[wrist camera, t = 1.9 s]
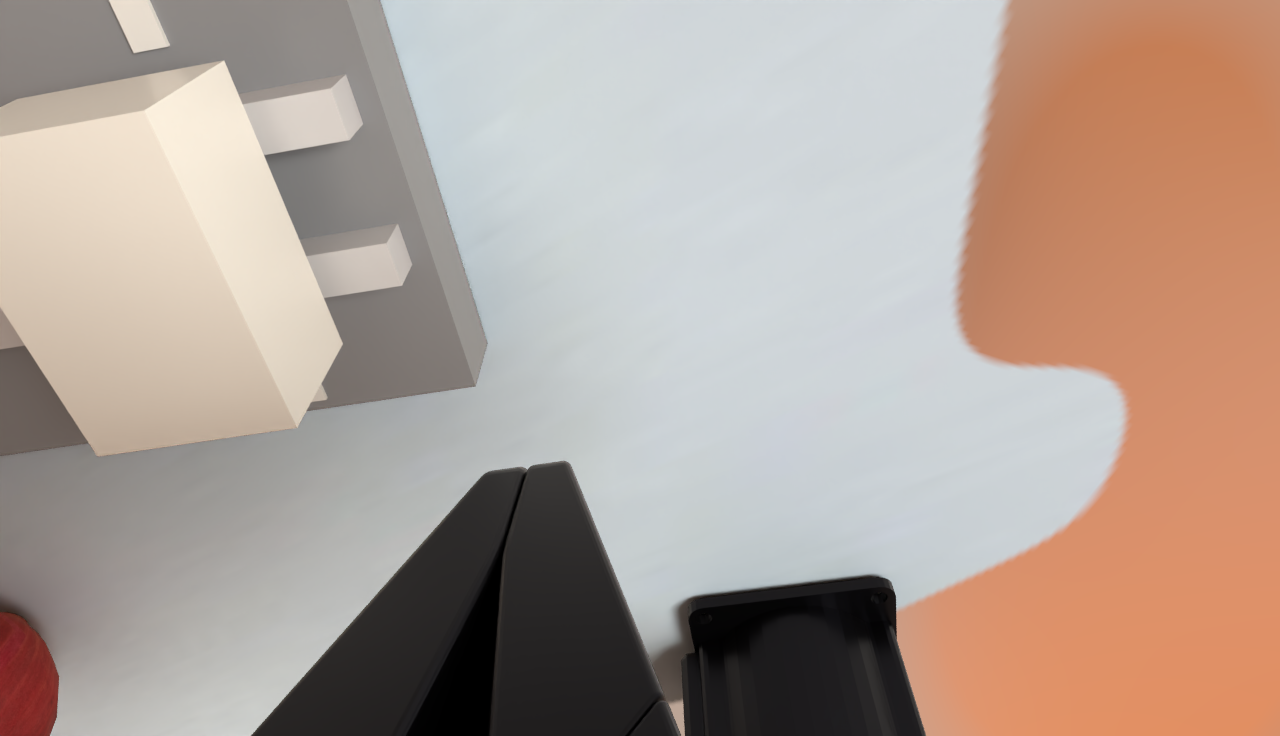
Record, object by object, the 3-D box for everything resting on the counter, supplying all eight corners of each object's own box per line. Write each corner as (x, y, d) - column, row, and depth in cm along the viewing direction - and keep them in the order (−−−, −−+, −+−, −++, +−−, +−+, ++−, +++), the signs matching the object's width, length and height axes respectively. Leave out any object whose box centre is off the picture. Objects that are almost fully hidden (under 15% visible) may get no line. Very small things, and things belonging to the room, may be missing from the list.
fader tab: (248, 44, 17) (144, 110, 13) (358, 316, 20) (296, 427, 16) (54, 81, 17) (-100, 155, 13) (192, 341, 20) (97, 456, 17)
